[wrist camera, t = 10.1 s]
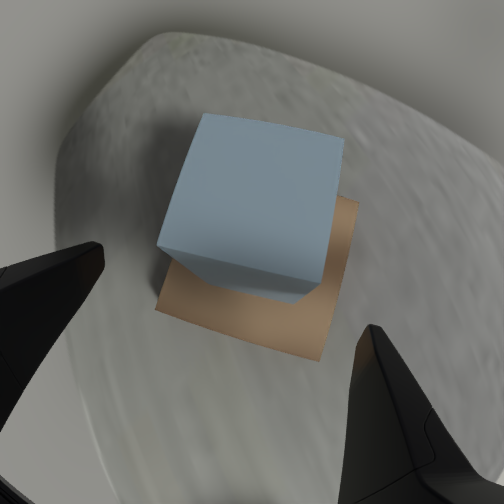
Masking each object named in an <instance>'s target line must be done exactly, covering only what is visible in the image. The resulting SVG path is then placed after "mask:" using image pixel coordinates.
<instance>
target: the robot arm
mask: <svg viewBox="0 0 504 504" xmlns="http://www.w3.org/2000/svg"><path fill="white" fill-rule="evenodd" d="M104 267H105V259H104V249H103V246H102V244H100V243H97V242H94V241H90V242H87V243H83V244H80V245H76V246H73V247H69V248H66V249H62V250H59V251H55V252H52V253H49V254H46V255H42V256H39V257H35V258H32V259H29V260H26V261H23V262H19V263H16V264H13V265H10V266H8V267H3V268H0V432H1V430H2V428H3V426H4V425H5V423H6V421H7V419H8V417H9V416H10V414H11V412H12V410H13V408H14V407H15V405H16V403H17V402H18V400H19V398H20V397H21V395H22V393H23V391H24V389H25V388H26V386H27V385H28V383H29V381H30V380H31V378H32V377H33V375H34V374H35V372H36V370H37V369H38V367H39V366H40V364H41V362H42V361H43V360H44V358H45V357H46V355H47V354H48V352H49V350H50V349H51V348H52V346H53V345H54V343H55V342H56V340H57V339H58V337H59V336H60V334H61V333H62V332H63V330H64V329H65V327H66V326H67V325H68V323H69V322H70V320H71V319H72V318H73V316H74V315H75V314H76V312H77V311H78V309H79V308H80V307H81V305H82V304H83V302H84V301H85V299H86V298H87V296H88V294H89V293H90V291H91V290H92V288H93V286H94V285H95V283H96V281H97V280H98V278H99V277H100V275H101V273H102V272H103V270H104ZM0 504H35V503H33V502H32V501H31V500H29V499H28V498H27V497H26V496H24V495H23V494H22V493H20V492H19V491H18V490H17V489H16V488H15V487H13V486H12V485H11V484H9V482H7V481H6V480H5V479H4V478H3V477H2V476H1V475H0ZM338 504H504V486H501V485H499V484H496V483H493V482H490V481H488V480H486V479H484V478H483V477H481V476H480V475H479V474H478V473H477V472H476V471H475V470H474V468H473V467H472V465H471V464H470V463H469V461H468V460H467V458H466V457H465V455H464V454H463V452H462V451H461V450H460V448H459V447H458V445H457V444H456V443H455V441H454V440H453V438H452V437H451V435H450V434H449V432H448V431H447V429H446V428H445V426H444V425H443V423H442V421H441V420H440V418H439V417H438V415H437V413H436V412H435V410H434V408H432V405H431V403H430V402H429V400H428V398H427V397H426V395H425V394H424V392H423V390H422V389H421V387H420V386H419V384H418V382H417V381H416V379H415V378H414V376H413V374H412V373H411V371H410V370H409V368H408V367H407V365H406V364H405V362H404V360H403V359H402V357H401V356H400V354H399V353H398V351H397V350H396V348H395V347H394V345H393V344H392V342H391V341H390V339H389V338H388V336H387V335H386V333H385V332H384V330H383V329H382V328H381V327H380V326H377V325H373V324H369V325H367V327H366V328H365V330H364V332H363V334H362V335H361V337H360V339H359V341H358V343H357V346H356V350H355V357H354V364H353V370H352V376H351V382H350V389H349V401H348V416H347V429H346V440H345V450H344V459H343V468H342V476H341V483H340V491H339V497H338Z"/></svg>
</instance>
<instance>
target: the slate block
mask: <svg viewBox="0 0 504 504" xmlns="http://www.w3.org/2000/svg"><path fill="white" fill-rule="evenodd" d="M343 146H344V138H340V137H336V136H331V135H327V134H323V133H319V132H314V131H310V130H305V129H300V128H295V127H290V126H285V125H280V124H274V123H269V122H263V121H257V120H251V119H244V118H238V117H231V116H223V115H215V114H207V113H204V114H203V116H202V119H201V121H200V124H199V126H198V128H197V131H196V133H195V136H194V139H193V141H192V144H191V146H190V149H189V151H188V154H187V157H186V159H185V162H184V165H183V167H182V170H181V173H180V176H179V178H178V181H177V184H176V187H175V190H174V193H173V195H172V198H171V201H170V204H169V207H168V210H167V213H166V216H165V219H164V222H163V226H162V229H161V232H160V235H159V238H158V242H157V246H158V247H159V248H161V249H162V250H163V251H165V252H166V253H167V254H169V255H170V256H171V257H173V258H174V259H175V260H177V261H178V262H179V263H181V264H182V265H183V266H185V267H186V268H187V269H189V270H190V271H191V272H193V273H194V274H195V275H197V276H198V277H199V278H201V279H202V280H204V281H205V282H206V283H208V284H210V285H214V286H218V287H222V288H226V289H230V290H234V291H238V292H242V293H246V294H251V295H255V296H259V297H263V298H268V299H272V300H276V301H281V302H285V303H290V304H295V303H296V302H298V301H299V300H300V299H302V298H303V297H304V296H305V295H307V294H308V293H309V292H311V291H312V290H313V289H315V288H316V287H317V286H318V285H320V284H321V280H322V275H323V270H324V265H325V260H326V255H327V249H328V244H329V238H330V233H331V227H332V221H333V215H334V209H335V203H336V197H337V190H338V183H339V176H340V169H341V162H342V154H343Z"/></svg>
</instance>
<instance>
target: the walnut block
mask: <svg viewBox="0 0 504 504" xmlns="http://www.w3.org/2000/svg"><path fill="white" fill-rule="evenodd" d="M358 206H359V202H357V201H354V200H351V199H347V198H344V197H341V196H338V195H337V197H336V203H335V209H334V215H333V221H332V227H331V233H330V238H329V244H328V249H327V255H326V260H325V265H324V270H323V275H322V280H321V284H320V285H318V286H317V287H316V288H315V289H313V290H312V291H311V292H309V293H308V294H307V295H305V296H304V297H303V298H302V299H300V300H299V301H298V302H296V303H295V304H290V303H285V302H281V301H276V300H272V299H268V298H263V297H259V296H255V295H251V294H246V293H242V292H238V291H234V290H230V289H226V288H222V287H218V286H214V285H210V284H208V283H206V282H205V281H204V280H202V279H201V278H199V277H198V276H197V275H195V274H194V273H193V272H191V271H190V270H189V269H187V268H186V267H185V266H183V265H182V264H181V263H179V262H178V261H177V260H175V259H174V258H172V260H171V263H170V266H169V269H168V272H167V275H166V278H165V281H164V284H163V286H162V289H161V292H160V296H159V299H158V302H157V305H156V308H155V310H157V311H160V312H162V313H165V314H168V315H170V316H173V317H176V318H179V319H181V320H184V321H187V322H190V323H193V324H196V325H198V326H201V327H204V328H207V329H210V330H213V331H216V332H219V333H222V334H225V335H228V336H231V337H235V338H238V339H241V340H244V341H247V342H251V343H254V344H257V345H261V346H264V347H267V348H271V349H274V350H278V351H281V352H285V353H288V354H292V355H295V356H299V357H303V358H307V359H310V360H314V361H318V362H319V361H320V358H321V355H322V351H323V348H324V345H325V341H326V338H327V335H328V331H329V328H330V324H331V321H332V317H333V313H334V310H335V306H336V302H337V298H338V295H339V291H340V287H341V283H342V279H343V275H344V271H345V266H346V262H347V258H348V254H349V249H350V245H351V240H352V235H353V231H354V226H355V221H356V216H357V211H358Z"/></svg>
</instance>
